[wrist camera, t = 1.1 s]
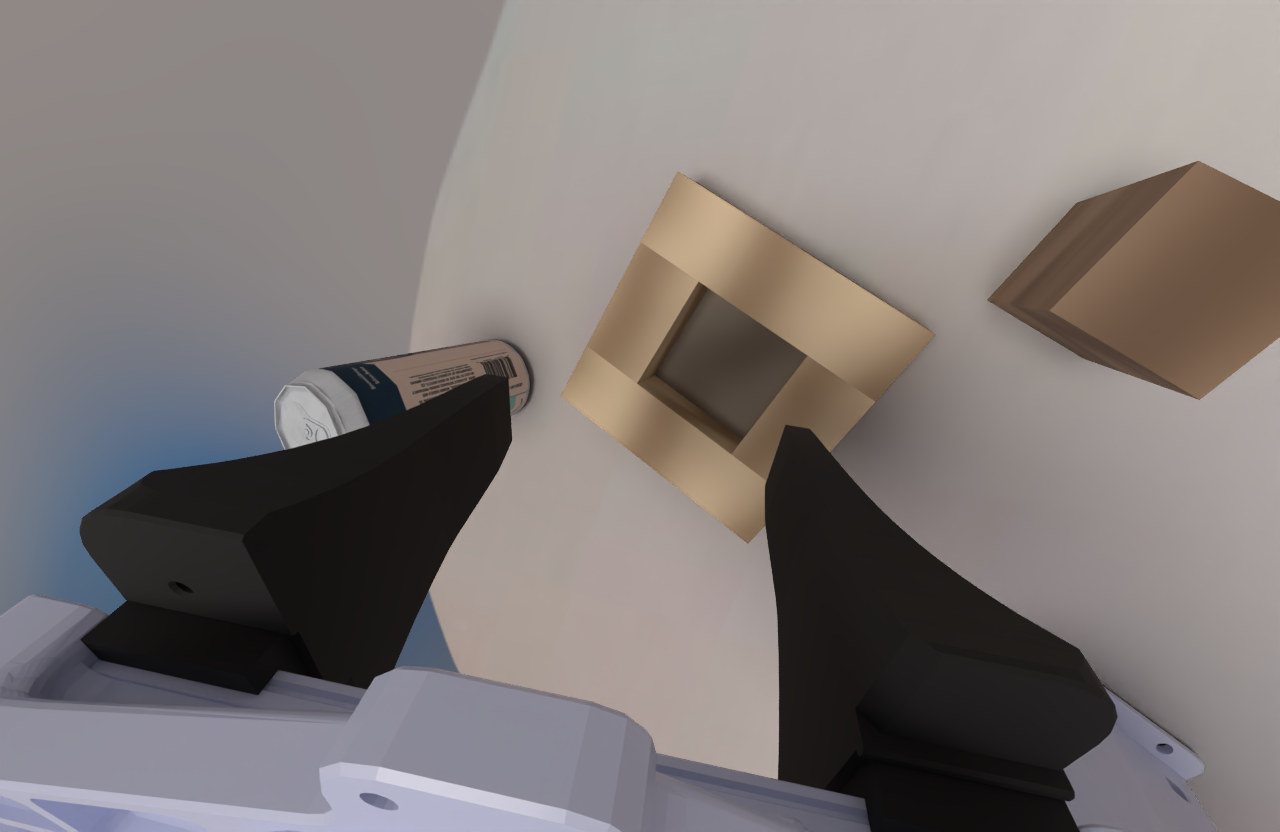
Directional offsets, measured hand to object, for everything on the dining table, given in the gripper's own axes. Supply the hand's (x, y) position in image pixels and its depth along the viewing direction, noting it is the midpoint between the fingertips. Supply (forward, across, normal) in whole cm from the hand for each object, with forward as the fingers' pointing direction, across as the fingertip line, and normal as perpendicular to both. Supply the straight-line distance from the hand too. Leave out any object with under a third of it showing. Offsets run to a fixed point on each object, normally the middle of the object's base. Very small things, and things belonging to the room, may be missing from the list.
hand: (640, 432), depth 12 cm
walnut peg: (+10, -15, -3) cm, 18 cm away
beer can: (+15, +10, +8) cm, 19 cm away
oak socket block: (+12, -3, +3) cm, 12 cm away
